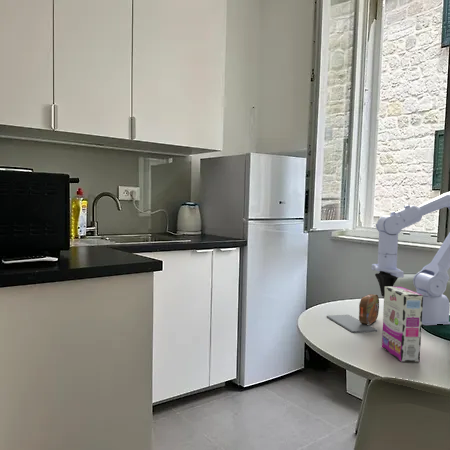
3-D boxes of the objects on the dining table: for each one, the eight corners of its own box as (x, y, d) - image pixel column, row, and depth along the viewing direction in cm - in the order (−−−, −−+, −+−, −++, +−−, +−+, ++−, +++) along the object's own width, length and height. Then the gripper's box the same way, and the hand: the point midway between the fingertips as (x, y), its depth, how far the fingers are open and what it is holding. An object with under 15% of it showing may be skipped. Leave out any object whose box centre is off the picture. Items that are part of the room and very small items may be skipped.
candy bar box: (421, 362, 105) (424, 295, 104) (401, 362, 104) (404, 294, 103) (399, 346, 116) (401, 285, 115) (380, 347, 115) (383, 285, 114)
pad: (348, 316, 146) (348, 314, 146) (377, 331, 129) (377, 329, 129) (326, 317, 144) (326, 315, 144) (352, 332, 127) (352, 330, 127)
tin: (366, 327, 131) (368, 299, 130) (355, 325, 132) (358, 297, 132) (378, 318, 143) (381, 293, 143) (369, 316, 145) (371, 291, 144)
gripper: (364, 250, 144) (362, 291, 145) (389, 256, 130) (387, 301, 131) (383, 250, 145) (381, 291, 146) (410, 256, 131) (408, 301, 132)
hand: (385, 296), depth 139 cm, fingers closed
